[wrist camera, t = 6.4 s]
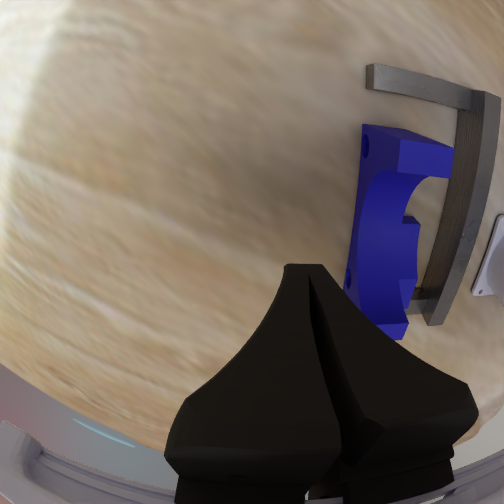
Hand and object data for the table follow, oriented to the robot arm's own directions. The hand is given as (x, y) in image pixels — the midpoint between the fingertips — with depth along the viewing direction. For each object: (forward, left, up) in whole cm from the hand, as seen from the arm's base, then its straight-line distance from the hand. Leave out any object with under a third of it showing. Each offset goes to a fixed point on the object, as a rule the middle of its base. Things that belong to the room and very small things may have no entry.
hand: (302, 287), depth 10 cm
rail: (-8, 0, -9) cm, 12 cm away
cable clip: (-7, +1, -10) cm, 12 cm away
